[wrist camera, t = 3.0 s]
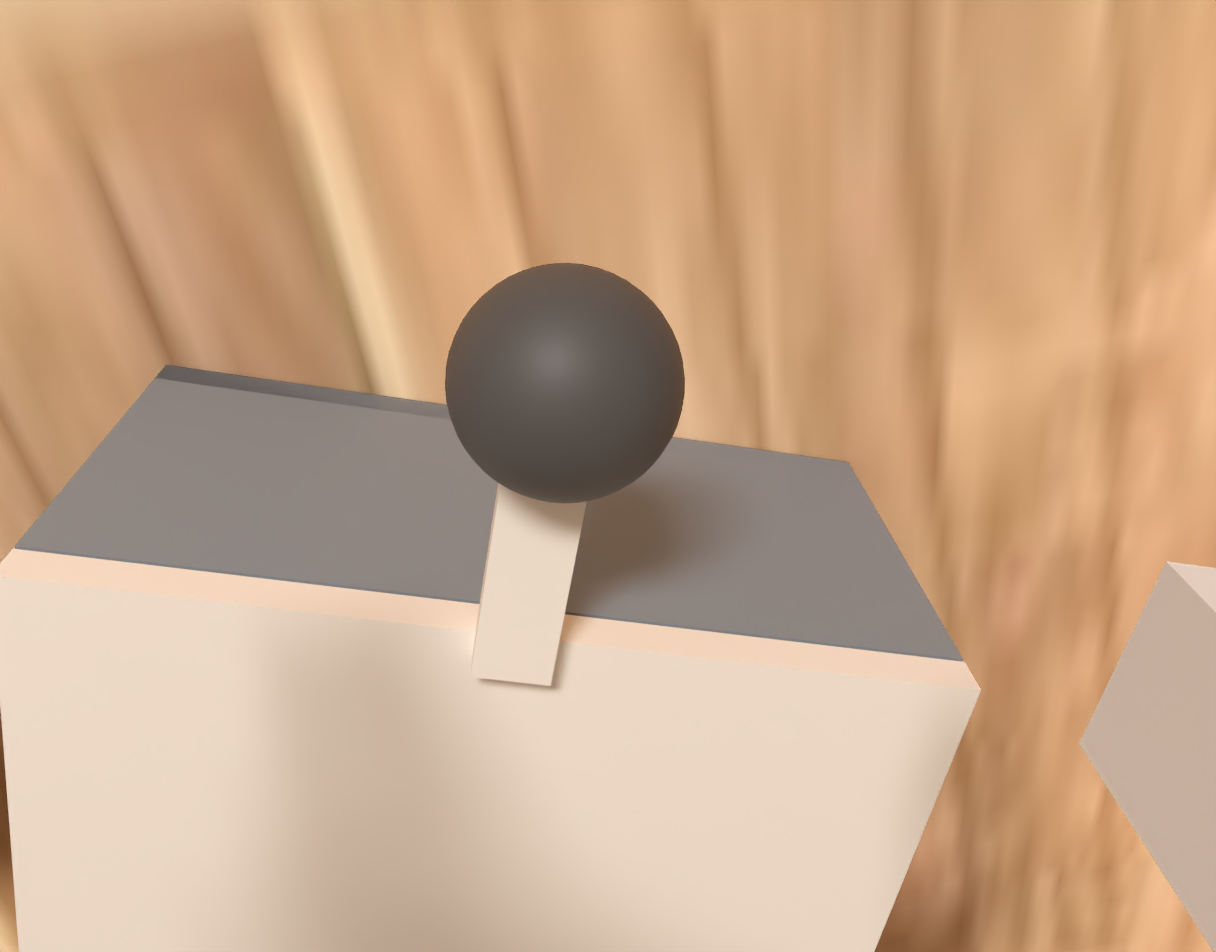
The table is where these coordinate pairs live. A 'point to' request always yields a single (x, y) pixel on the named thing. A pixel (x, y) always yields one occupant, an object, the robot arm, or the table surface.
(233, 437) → the carton
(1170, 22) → the table surface
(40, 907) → the lid
